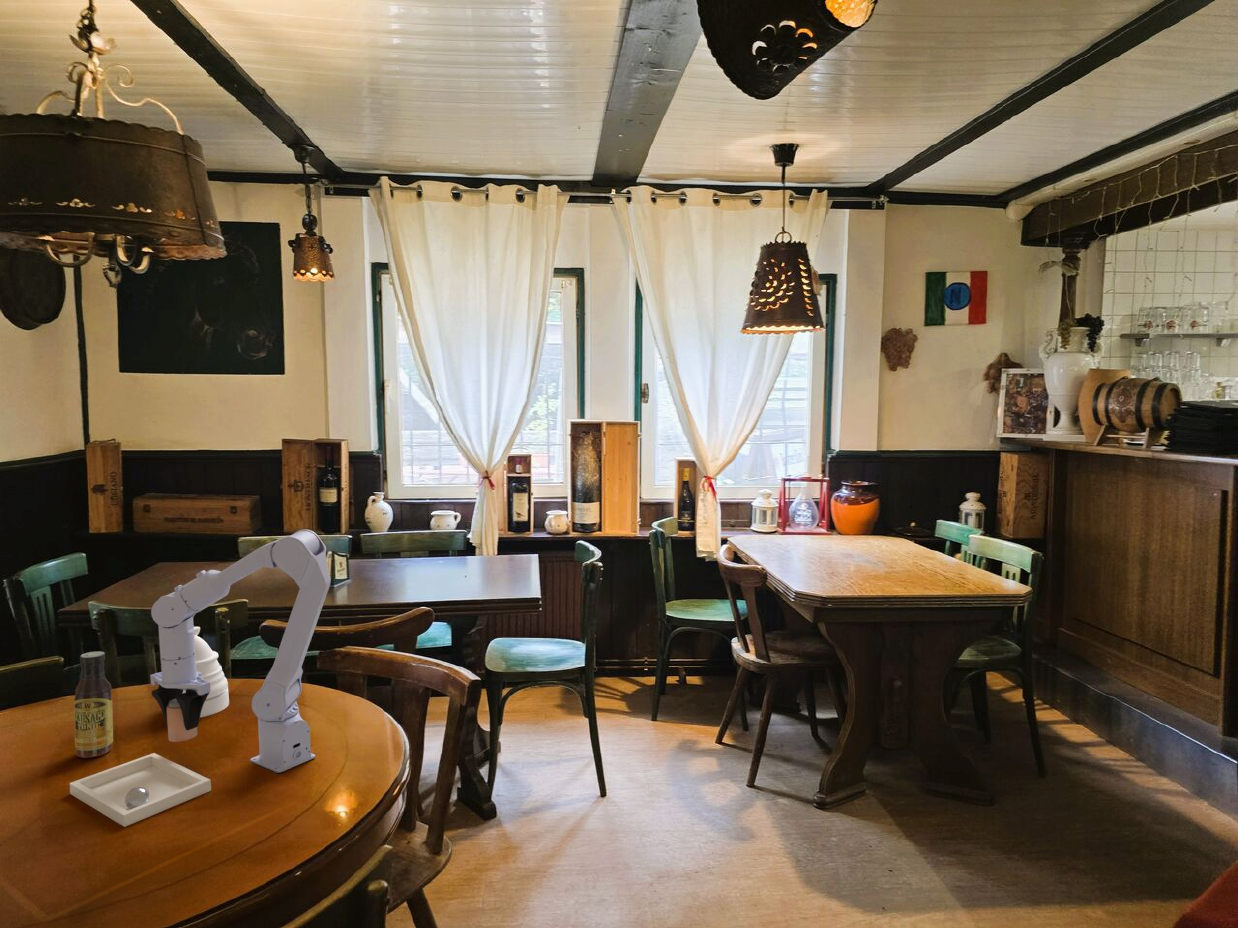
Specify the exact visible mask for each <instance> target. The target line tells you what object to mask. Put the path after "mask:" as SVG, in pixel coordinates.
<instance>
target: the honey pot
mask: <svg viewBox="0 0 1238 928" xmlns="http://www.w3.org/2000/svg"><path fill="white" fill-rule="evenodd" d="M200 631H201V627H200V626H194V640H195V655H196V671H197V672H201V673H202V676H201V678H202V679H204V680H205V681H208V682H210V690H211V692H210V693H209V694H208V696H207V698H206V700H205V702H204V705H203V707H202V711H201V715H200V718H204V717H208V716H212V715H214V714H217V713H219V712H221V711H223V710H225V709H226V708H227V707H228V706H229V705H230V699H229V698H230V697H229V696H230V695H229V682H228V679H227V677H226V676H225V673H224V671H223V668H222V665H221V664H220V663H219V661H218V658H219V653H218V652H217V651H215V650H212V648H211V647H210V646H209V643H207V642H206V641H205V640H204V639H203V638H202V637H200V636H198V635H199V634H200ZM183 693H186V690H183Z"/></svg>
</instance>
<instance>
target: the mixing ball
mask: <svg viewBox="0 0 1238 928" xmlns="http://www.w3.org/2000/svg"><path fill="white" fill-rule="evenodd" d="M148 800H149V792H148V790H147V789H145V788H144V787H135V788H133V789H131V790H130V791H129V792H128V793H127V794H126V796H125V804H126V806H127V807H128V808H130V809H133V808H136V807H138V806H141V805H143V804H146V803H147V802H148Z"/></svg>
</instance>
